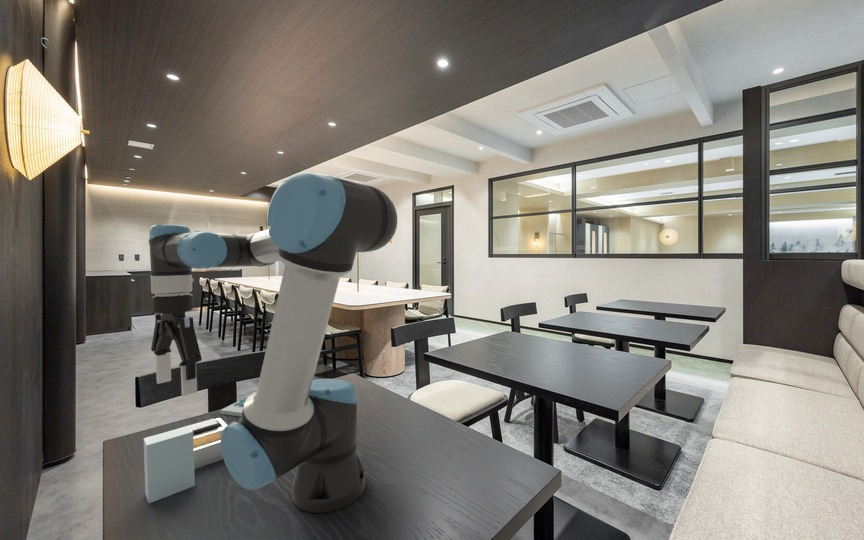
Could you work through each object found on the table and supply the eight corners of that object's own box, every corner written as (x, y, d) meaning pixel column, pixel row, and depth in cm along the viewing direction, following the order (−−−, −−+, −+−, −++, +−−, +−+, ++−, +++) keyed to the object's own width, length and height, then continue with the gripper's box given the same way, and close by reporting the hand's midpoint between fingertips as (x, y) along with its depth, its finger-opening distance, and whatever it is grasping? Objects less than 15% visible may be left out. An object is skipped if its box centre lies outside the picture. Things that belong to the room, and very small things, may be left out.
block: (194, 485, 79) (193, 431, 79) (148, 503, 74) (146, 445, 73) (190, 477, 82) (188, 425, 82) (145, 494, 77) (143, 438, 76)
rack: (238, 453, 92) (237, 432, 92) (181, 473, 84) (181, 450, 83) (220, 433, 103) (219, 414, 103) (168, 449, 94) (167, 428, 94)
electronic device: (220, 408, 115) (254, 391, 130) (220, 415, 116) (254, 397, 130) (270, 414, 111) (299, 396, 125) (270, 422, 111) (299, 402, 125)
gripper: (217, 295, 78) (220, 393, 79) (169, 290, 92) (172, 373, 93) (177, 298, 72) (181, 405, 73) (132, 293, 86) (135, 382, 87)
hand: (176, 387), depth 83 cm, fingers open, 13 cm apart
